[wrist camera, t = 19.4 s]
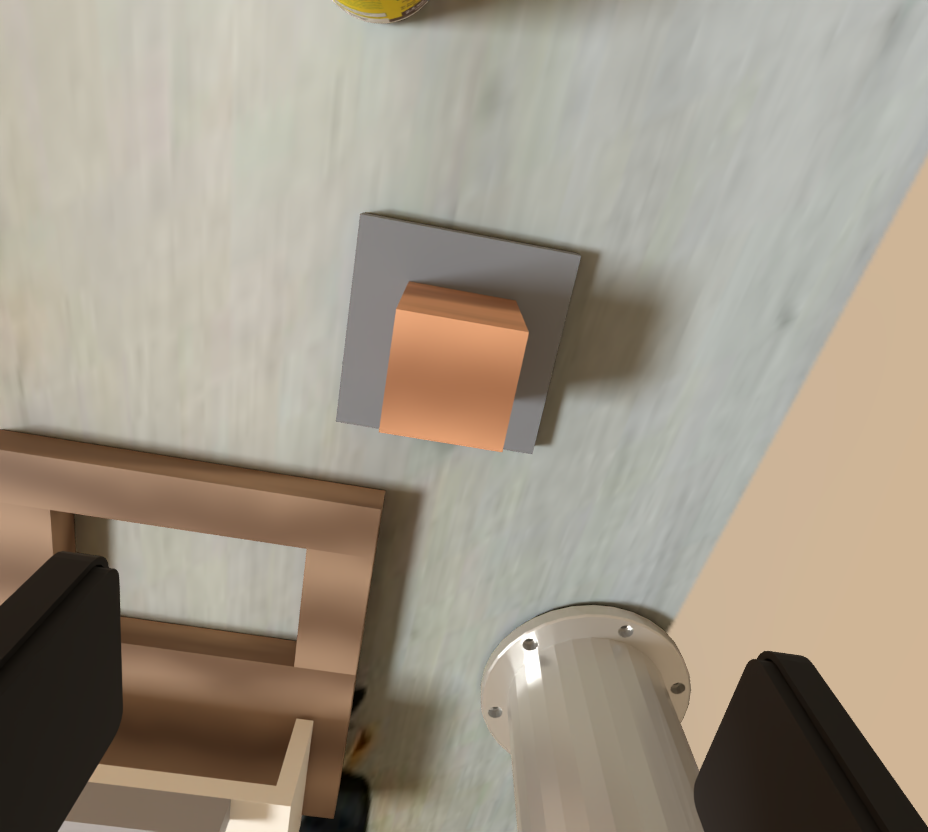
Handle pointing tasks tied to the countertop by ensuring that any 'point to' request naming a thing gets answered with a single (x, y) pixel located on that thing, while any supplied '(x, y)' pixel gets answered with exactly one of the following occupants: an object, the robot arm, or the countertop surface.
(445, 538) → the countertop surface
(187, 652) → the puzzle board
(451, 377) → the block
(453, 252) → the slate mat
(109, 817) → the cream bridge stand
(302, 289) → the countertop surface
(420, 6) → the supplement bottle
